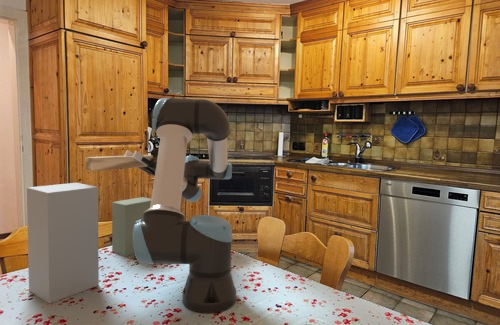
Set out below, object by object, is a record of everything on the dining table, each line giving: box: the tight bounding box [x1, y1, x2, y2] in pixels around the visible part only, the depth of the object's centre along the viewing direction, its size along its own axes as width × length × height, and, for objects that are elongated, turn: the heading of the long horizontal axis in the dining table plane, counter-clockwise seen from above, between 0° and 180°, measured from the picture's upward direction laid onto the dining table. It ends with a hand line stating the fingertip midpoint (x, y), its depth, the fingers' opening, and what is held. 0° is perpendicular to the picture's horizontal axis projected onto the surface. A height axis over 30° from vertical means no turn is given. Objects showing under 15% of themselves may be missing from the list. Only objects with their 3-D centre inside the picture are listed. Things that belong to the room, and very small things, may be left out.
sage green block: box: [111, 196, 151, 257], centre depth 130 cm, size 8×14×20 cm, turn 146°
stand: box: [26, 182, 100, 304], centre depth 96 cm, size 12×14×30 cm
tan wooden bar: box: [85, 154, 154, 172], centre depth 112 cm, size 4×23×4 cm, turn 146°
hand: (130, 153), depth 115 cm, fingers closed on tan wooden bar, 4 cm apart
